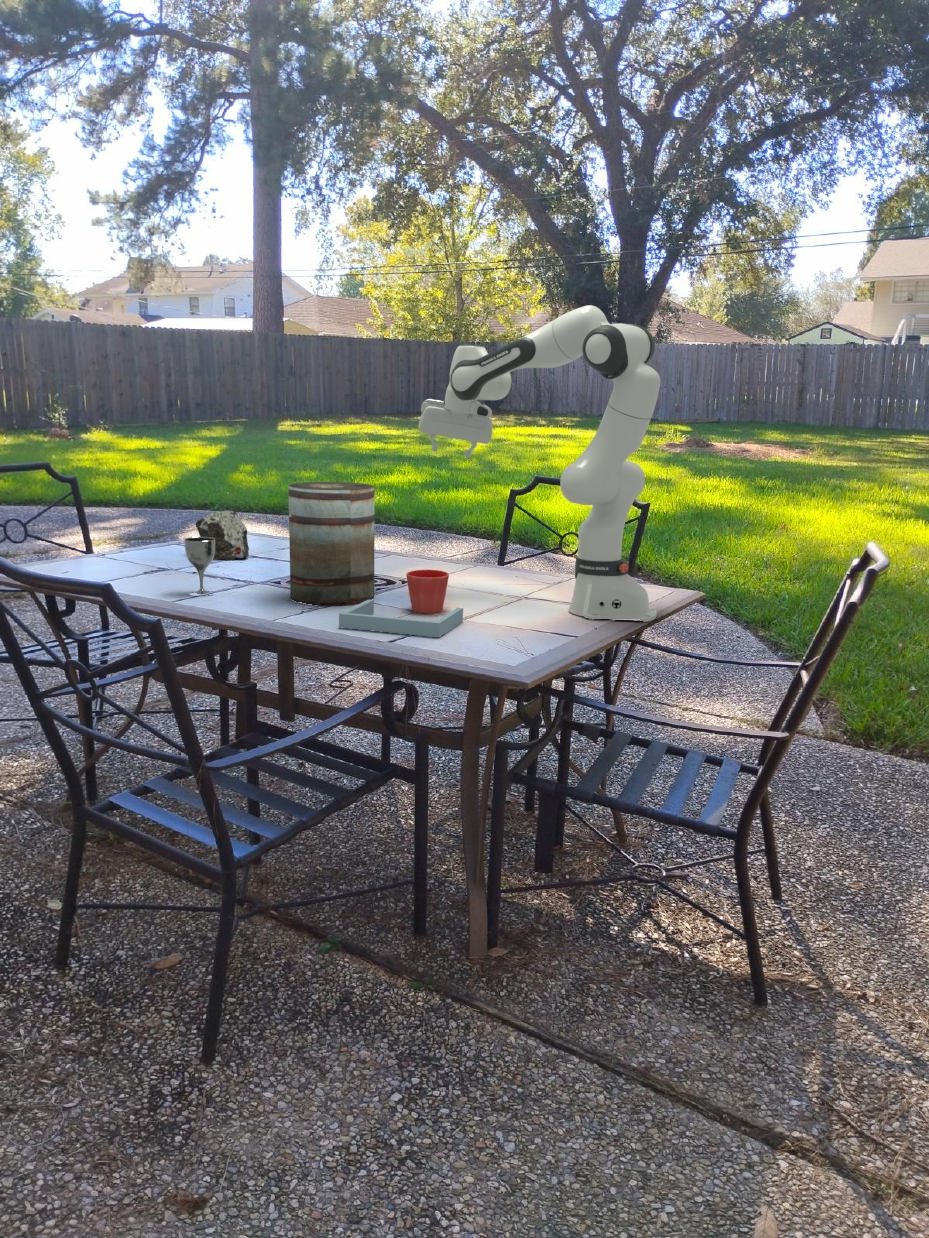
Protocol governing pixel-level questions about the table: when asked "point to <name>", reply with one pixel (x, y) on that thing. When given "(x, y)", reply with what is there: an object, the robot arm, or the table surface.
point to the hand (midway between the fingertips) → (450, 453)
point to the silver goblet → (200, 555)
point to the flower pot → (427, 590)
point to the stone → (225, 534)
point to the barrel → (331, 543)
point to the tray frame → (397, 621)
